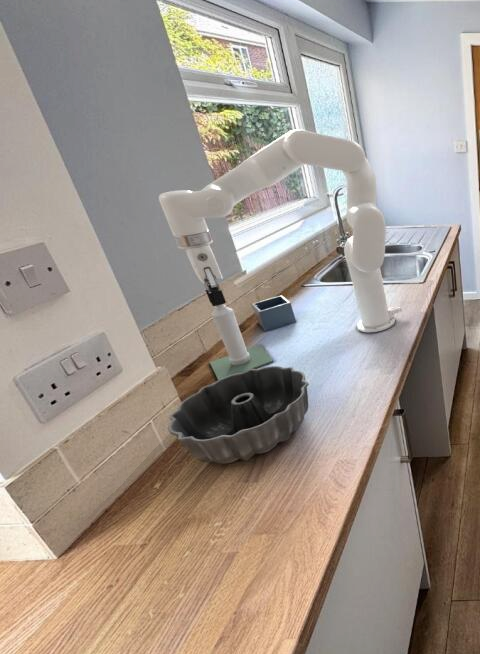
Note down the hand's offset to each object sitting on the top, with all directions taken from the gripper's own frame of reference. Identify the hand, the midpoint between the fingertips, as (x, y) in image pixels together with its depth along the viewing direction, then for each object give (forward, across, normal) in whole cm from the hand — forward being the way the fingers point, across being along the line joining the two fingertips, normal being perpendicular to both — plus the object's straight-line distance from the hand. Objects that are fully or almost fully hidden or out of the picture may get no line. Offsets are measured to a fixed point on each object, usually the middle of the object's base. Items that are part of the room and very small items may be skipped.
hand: (218, 302), depth 113 cm
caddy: (+20, +22, -16) cm, 34 cm away
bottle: (+20, 0, 0) cm, 20 cm away
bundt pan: (+20, -38, +5) cm, 43 cm away
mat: (+20, 0, 0) cm, 20 cm away
